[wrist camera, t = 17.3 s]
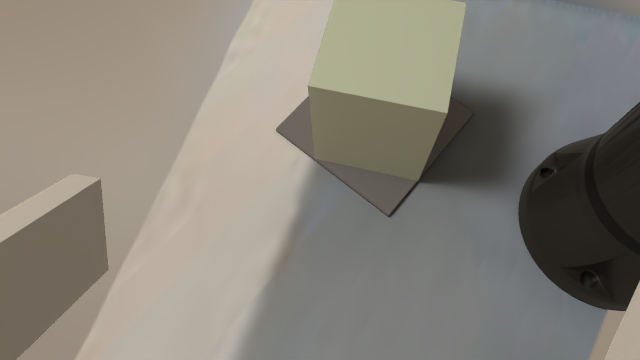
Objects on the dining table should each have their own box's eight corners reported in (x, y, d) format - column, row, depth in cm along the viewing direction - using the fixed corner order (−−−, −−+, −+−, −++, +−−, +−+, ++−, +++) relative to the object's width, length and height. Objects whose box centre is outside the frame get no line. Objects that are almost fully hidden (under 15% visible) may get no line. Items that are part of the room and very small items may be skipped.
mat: (363, 42, 50) (363, 40, 50) (473, 114, 47) (474, 112, 46) (276, 131, 47) (275, 129, 46) (388, 216, 43) (388, 215, 43)
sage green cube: (434, 92, 47) (466, 2, 36) (418, 180, 44) (447, 113, 32) (338, 73, 49) (339, -19, 37) (315, 158, 45) (307, 85, 34)
